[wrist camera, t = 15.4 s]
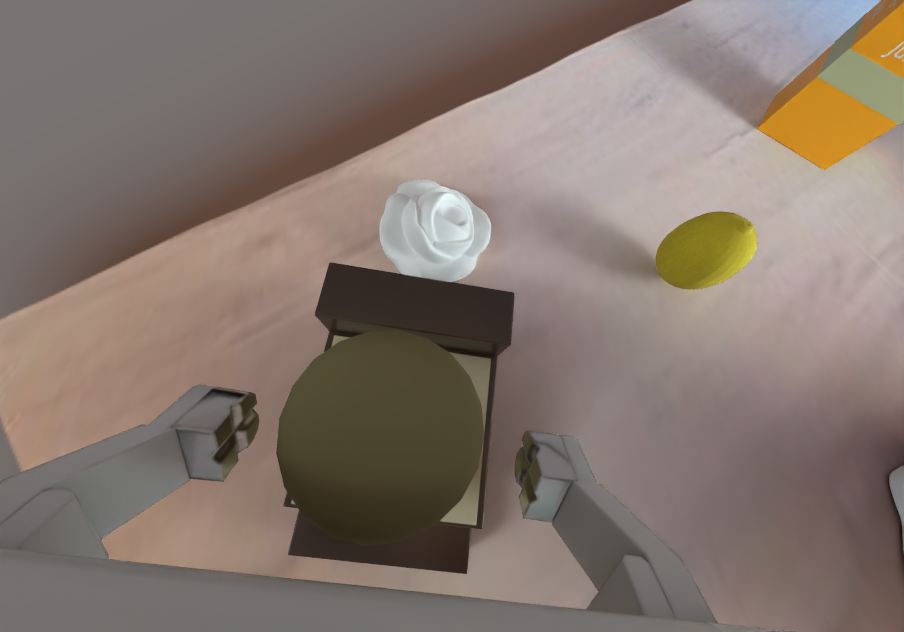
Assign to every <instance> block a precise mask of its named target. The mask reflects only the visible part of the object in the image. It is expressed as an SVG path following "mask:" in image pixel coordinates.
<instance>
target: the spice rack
mask: <svg viewBox="0 0 904 632" xmlns="http://www.w3.org/2000/svg"><path fill="white" fill-rule="evenodd" d="M513 308H514V293H513V292H507V291H501V290H495V289H488V288H482V287H476V286H470V285H464V284H458V283H452V282H446V281H440V280H434V279H428V278H422V277H415V276H409V275H403V274H397V273H391V272H385V271H379V270H373V269H367V268H361V267H355V266H349V265H342V264H336V263H329V266H328V270H327V273H326V277H325V280H324V284H323V287H322V291H321V294H320V298H319V301H318V305H317V308H316V312H315V316H316V317H317V318H318V319H319V320H320V321H321V322H322V323H323V325H324V326H325V327H326V328H327V329H328V330H329V335H328V339H327V342H326V346H325V350H324V352H325V351H327V350H328V349H330V348H331V347H332V346H334V345H335V344H337V343H338V342H340V341H342V340H345V339H348V338H351V337H354V336H357V335H360V334H363V333H366V332H369V331H392V330H399V331H403V332H407V333H410V334H414V335H418V336H421V337H425V338H427V339H429V340H431V341H432V342H434V343H435V344H437V345H438V346H440V347H441V348H443V349H445V350H446V351H448V352H449V353H451V354H452V355H453V356H454V358H455V359H456V360H457V361H458V362H459V364H460V365H461V366H462V367H463V368H464V370H465V371H466V372H467V373H468V375H469V376H470V378H471V380H472V382H473V385H474V387H475V390H476V392H477V395H478V397H479V399H480V402H481V404H482V415H483V426H484V441H483V446H482V451H481V456H480V461H479V466H478V470H477V471H476V473H475V475H474V477H473V479H472V481H471V483H470V485H469V486H468V488H467V490H466V492H465V494H464V496H463V498H462V499H461V501H460V502H459V503H458V504H456V505H455V506H454V507H453V508H452V509H451V510H450V511H449V512H448V513H447V514H446V515H445V516H444V517H443V518H442V519H441V520H440V521H439V522H438V523H437V524H436V525H435V526H434V527H432V528H430V529H428V530H426V531H424V532H422V533H420V534H417V535H415V536H413V537H411V538H409V539H407V540H405V541H403V542H398V543H390V544H381V545H373V546H364V545H360V544H356V543H352V542H348V541H344V540H340V539H336V538H332V537H331V536H329V535H328V534H327V533H325V532H324V531H322V530H321V529H320V528H318V527H317V526H316V525H314V524H313V523H311V522H310V521H309V520H307V519H306V518H304V517H303V515H302V514H301V512H300V511H299V512H298V516H297V520H296V524H295V528H294V532H293V536H292V540H291V544H290V548H289V552H288V555H293V556H303V557H312V558H321V559H331V560H340V561H350V562H359V563H368V564H378V565H387V566H397V567H406V568H416V569H425V570H434V571H444V572H453V573H463V574H467V570H468V559H469V548H470V537H471V528H475V529H483V519H484V507H485V495H486V483H487V471H488V459H489V447H490V435H491V422H492V410H493V398H494V386H495V374H496V362H497V356H498V355H499V354H500V353H502V352H503V351H504V350H505V349H507V348H508V347H509V346H510V345H511V337H512V322H513ZM284 506H285V507H293V508H298V507H297V506H296V504H295V503H294V501H293V500H292V498H291V497H290V495H289V494H288V492H287V494H286V498H285V502H284Z"/></svg>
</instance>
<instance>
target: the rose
mask: <svg viewBox="0 0 904 632" xmlns="http://www.w3.org/2000/svg"><path fill="white" fill-rule="evenodd" d="M490 234H491V223H490V220H489V217H488V216H487V214H486V213H485V212H484V211H483V210H482V209H480V208H478V207H476V206H475V205H474V204H473V203H472V202H471V200H470V199H469V198H468V197H467V196H466V195H465V194H464V193H462V192H459V191H455V190H453V189H449V188H447V187H443V186H440V185H438V184H437V183H436V182H434V181H431V180H426V179H419V180H410V181H406V182H404V183H402V184H401V185H399V187H398V189H397V193H395V194H392V195H390V196H389V198H388V199H387V202H386V206H385V211H384V213H383V216H382V218H381V221H380V241H381V245H382V248H383V251H384V253H385V254H386V256H387V257H388V258H389V259H390V260H391V261H392V262H393V263H394V264H395V266H396V267H397V269H398V270H399V271H400V273H401V274H403V275H409V276H415V277H422V278H428V279H434V280H440V281H446V282H455V281H457V280H460V279H462V278H464V277H466V276H467V275H469V274H470V273H471V272H472V271H473V269H474V268H475V265H476V262H477V258H478V255H479V253H480V252H482V251H483V250H484V249H485V248H486V247H487V245H488V244H489V241H490Z"/></svg>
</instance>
